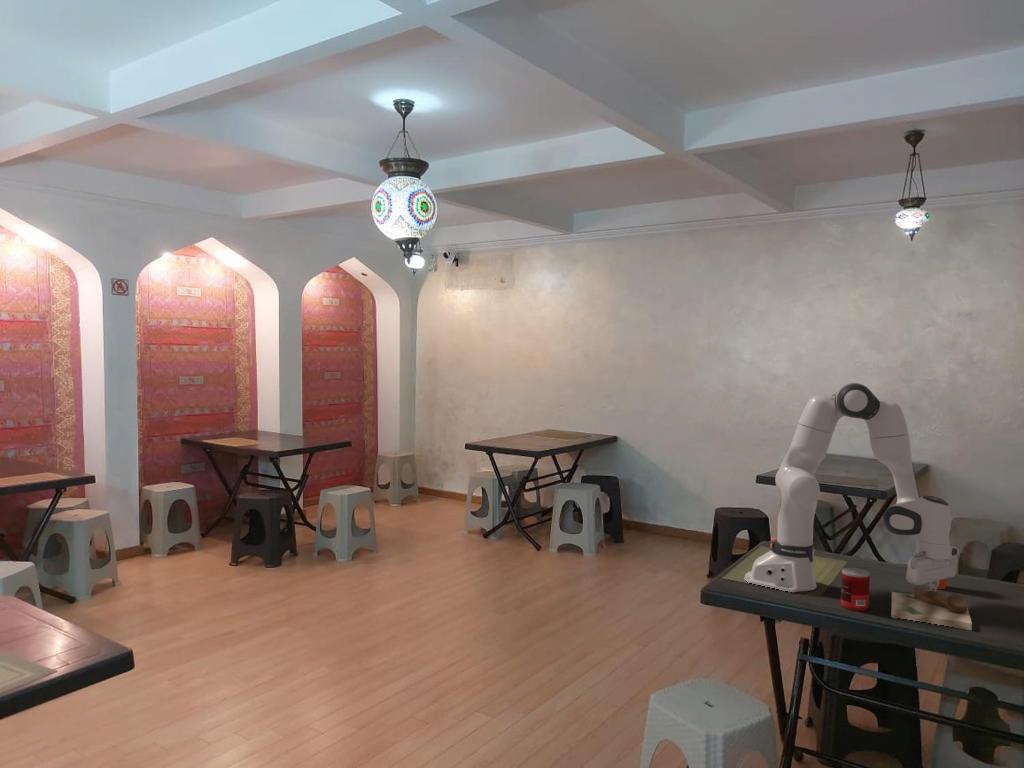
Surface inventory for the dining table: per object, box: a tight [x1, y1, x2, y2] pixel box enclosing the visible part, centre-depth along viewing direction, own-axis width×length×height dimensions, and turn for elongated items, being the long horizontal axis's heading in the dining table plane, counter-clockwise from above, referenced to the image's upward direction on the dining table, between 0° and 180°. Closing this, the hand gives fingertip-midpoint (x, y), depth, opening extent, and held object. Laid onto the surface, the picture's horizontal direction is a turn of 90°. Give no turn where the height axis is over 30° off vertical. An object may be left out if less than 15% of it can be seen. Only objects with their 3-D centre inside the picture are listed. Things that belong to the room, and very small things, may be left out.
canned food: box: [840, 567, 871, 612], centre depth 224 cm, size 8×8×11 cm
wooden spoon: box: [913, 586, 968, 612], centre depth 220 cm, size 14×5×4 cm, turn 32°
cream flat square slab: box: [890, 591, 973, 631], centre depth 219 cm, size 20×19×2 cm
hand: (930, 594), depth 225 cm, fingers closed
